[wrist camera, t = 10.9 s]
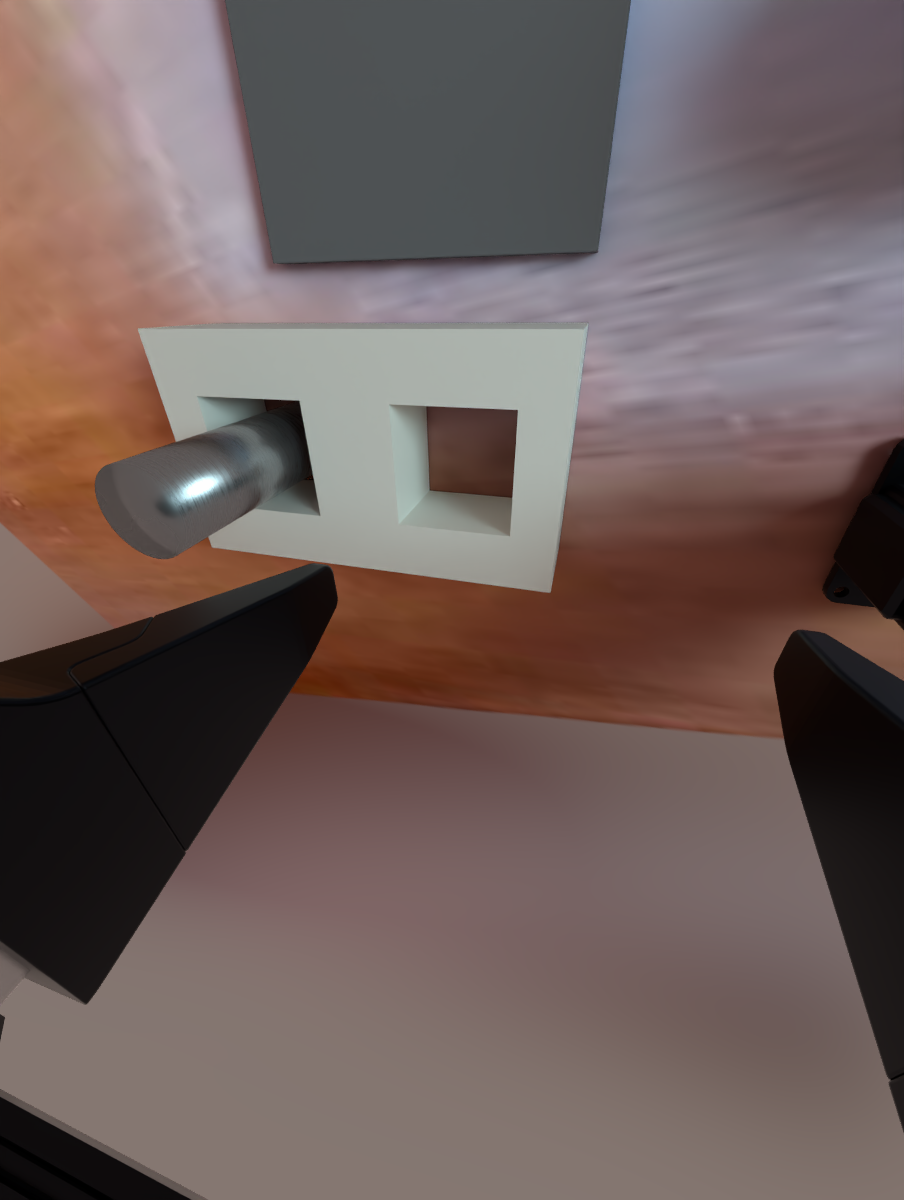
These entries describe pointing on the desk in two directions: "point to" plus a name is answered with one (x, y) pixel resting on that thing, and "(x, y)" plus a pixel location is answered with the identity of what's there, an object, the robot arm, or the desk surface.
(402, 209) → the mat
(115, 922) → the robot arm
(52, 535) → the desk surface
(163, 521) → the peg
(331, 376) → the hole block
